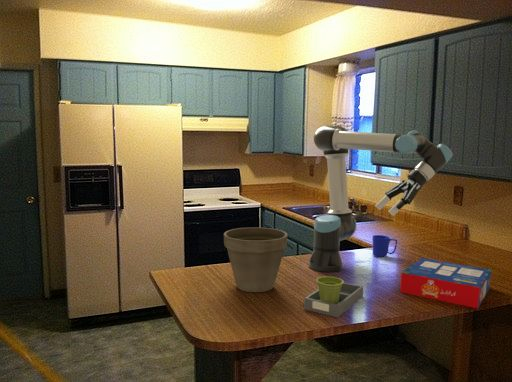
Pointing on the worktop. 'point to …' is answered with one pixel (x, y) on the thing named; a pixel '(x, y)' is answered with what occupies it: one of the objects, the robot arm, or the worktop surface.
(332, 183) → the robot arm
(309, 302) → the tray
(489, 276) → the pasta box
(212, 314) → the worktop surface
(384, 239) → the mug
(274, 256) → the plant pot
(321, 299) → the plant pot
